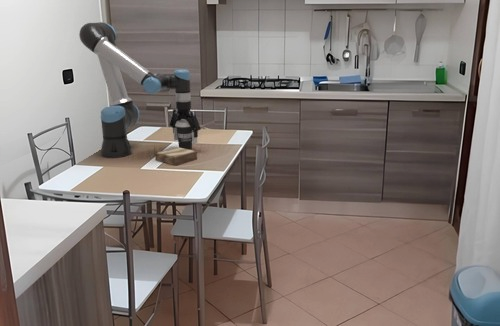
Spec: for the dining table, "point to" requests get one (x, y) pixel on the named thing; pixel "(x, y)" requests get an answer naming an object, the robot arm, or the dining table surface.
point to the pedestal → (176, 156)
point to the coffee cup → (184, 134)
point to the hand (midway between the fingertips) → (185, 141)
